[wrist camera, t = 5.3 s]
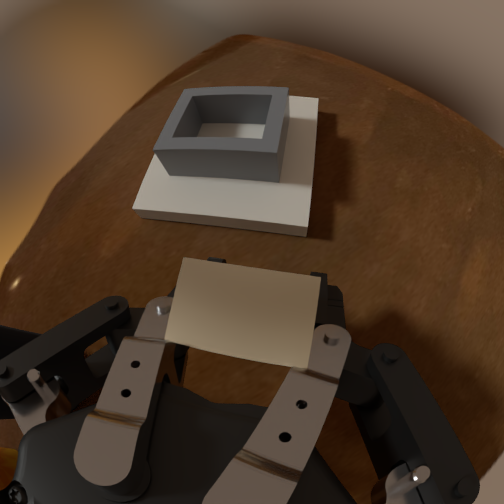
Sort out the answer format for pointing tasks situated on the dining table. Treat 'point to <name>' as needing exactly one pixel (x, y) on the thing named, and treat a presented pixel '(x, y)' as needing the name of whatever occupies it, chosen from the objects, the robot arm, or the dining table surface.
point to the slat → (244, 312)
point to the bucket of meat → (7, 466)
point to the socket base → (234, 160)
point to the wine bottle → (4, 343)
